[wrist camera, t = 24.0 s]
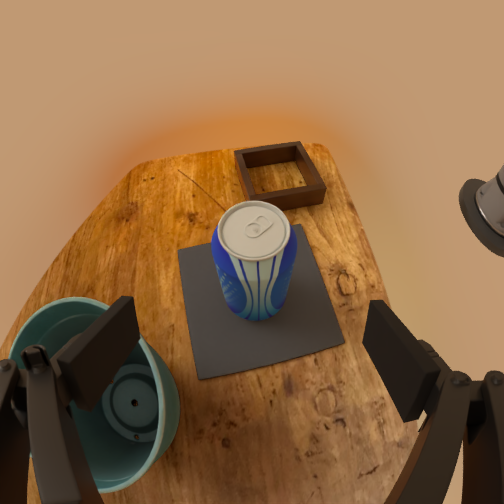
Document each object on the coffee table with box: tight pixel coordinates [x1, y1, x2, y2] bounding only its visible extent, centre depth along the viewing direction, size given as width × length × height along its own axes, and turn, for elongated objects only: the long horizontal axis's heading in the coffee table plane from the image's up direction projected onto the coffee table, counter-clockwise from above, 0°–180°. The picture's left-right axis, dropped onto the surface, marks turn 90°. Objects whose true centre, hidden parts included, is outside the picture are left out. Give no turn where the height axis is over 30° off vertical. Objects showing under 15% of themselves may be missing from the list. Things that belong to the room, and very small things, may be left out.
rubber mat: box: [178, 224, 345, 380], centre depth 40 cm, size 20×20×1 cm
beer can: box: [211, 201, 297, 321], centre depth 32 cm, size 8×8×16 cm
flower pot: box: [8, 297, 180, 493], centre depth 25 cm, size 18×18×17 cm
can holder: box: [234, 141, 327, 211], centre depth 49 cm, size 13×13×4 cm
